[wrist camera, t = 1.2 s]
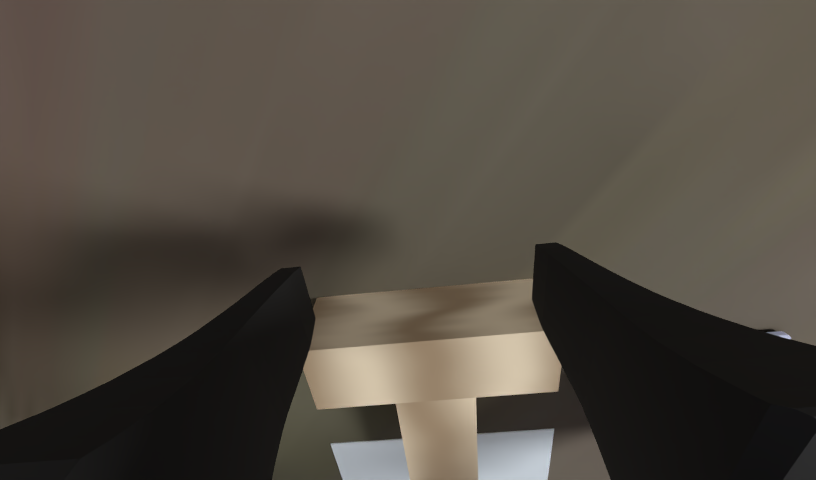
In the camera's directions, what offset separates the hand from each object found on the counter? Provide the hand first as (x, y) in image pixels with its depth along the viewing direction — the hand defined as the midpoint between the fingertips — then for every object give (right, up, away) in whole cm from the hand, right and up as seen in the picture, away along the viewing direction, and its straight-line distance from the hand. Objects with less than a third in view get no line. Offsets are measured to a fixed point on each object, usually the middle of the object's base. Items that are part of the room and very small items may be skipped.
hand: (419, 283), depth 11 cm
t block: (+1, -7, +11) cm, 13 cm away
